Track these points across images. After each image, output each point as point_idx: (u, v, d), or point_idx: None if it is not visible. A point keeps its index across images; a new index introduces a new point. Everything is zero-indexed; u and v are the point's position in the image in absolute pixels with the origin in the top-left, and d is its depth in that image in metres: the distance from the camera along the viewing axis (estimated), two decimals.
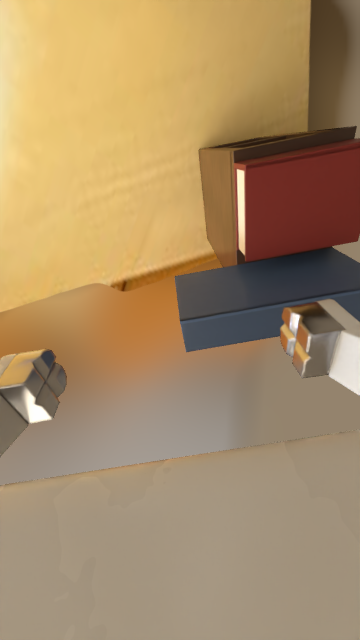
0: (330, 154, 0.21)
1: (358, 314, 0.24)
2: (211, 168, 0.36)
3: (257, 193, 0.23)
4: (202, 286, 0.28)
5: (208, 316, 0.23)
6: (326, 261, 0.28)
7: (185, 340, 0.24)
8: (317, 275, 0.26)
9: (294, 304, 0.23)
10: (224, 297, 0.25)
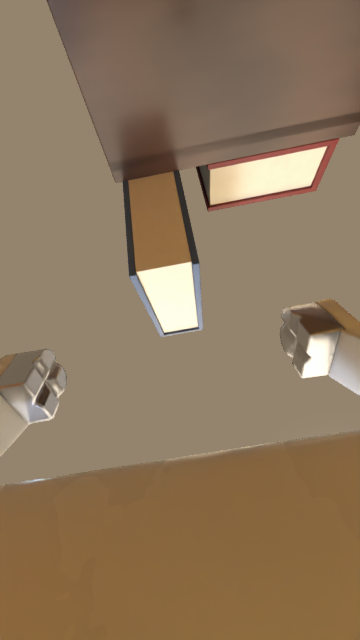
0: None
1: None
2: None
3: None
4: None
5: None
6: None
7: None
8: None
9: None
10: None
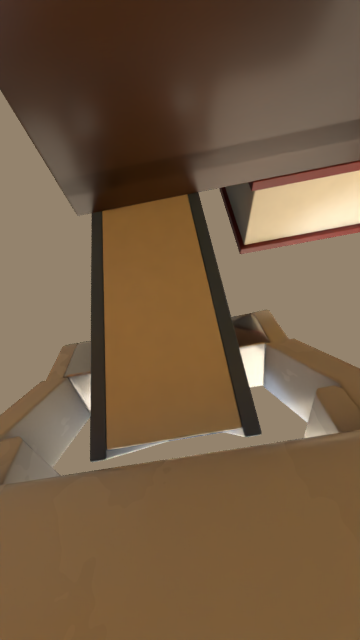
0: None
1: None
2: None
3: None
4: None
5: None
6: None
7: None
8: None
9: None
10: None
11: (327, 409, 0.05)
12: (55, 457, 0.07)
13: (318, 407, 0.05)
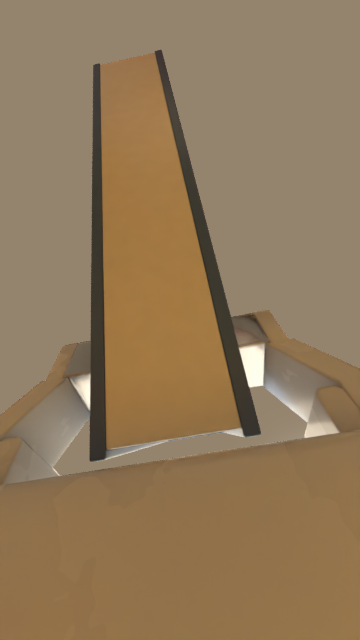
0: None
1: None
2: None
3: None
4: None
5: None
6: None
7: None
8: None
9: None
10: None
11: (327, 409, 0.05)
12: (55, 457, 0.07)
13: (318, 407, 0.05)
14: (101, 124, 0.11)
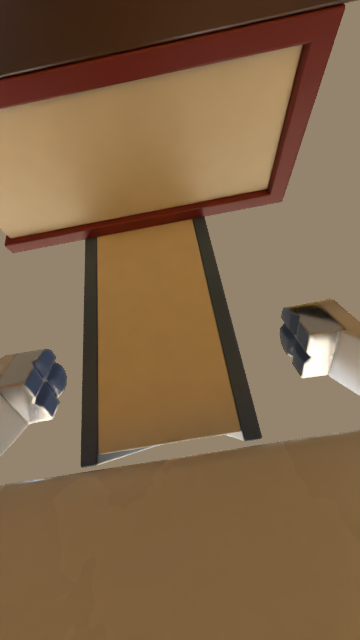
0: None
1: None
2: None
3: None
4: None
5: None
6: None
7: None
8: None
9: None
10: None
11: None
12: None
13: None
14: None
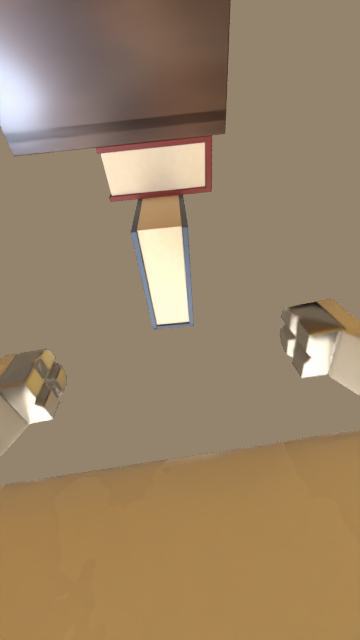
0: None
1: None
2: None
3: None
4: None
5: None
6: None
7: None
8: None
9: None
10: None
11: None
12: None
13: None
14: None
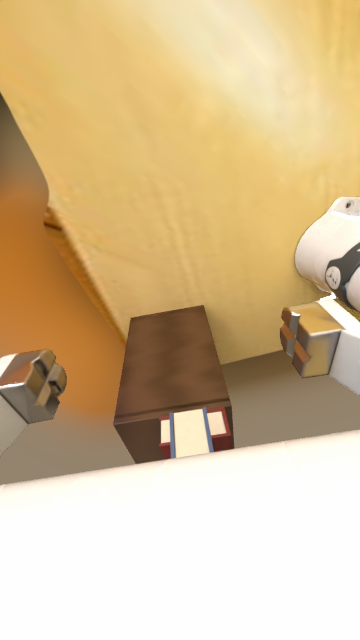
0: None
1: None
2: (201, 344, 0.44)
3: (212, 443, 0.31)
4: None
5: None
6: None
7: None
8: None
9: None
10: None
11: None
12: None
13: None
14: None
